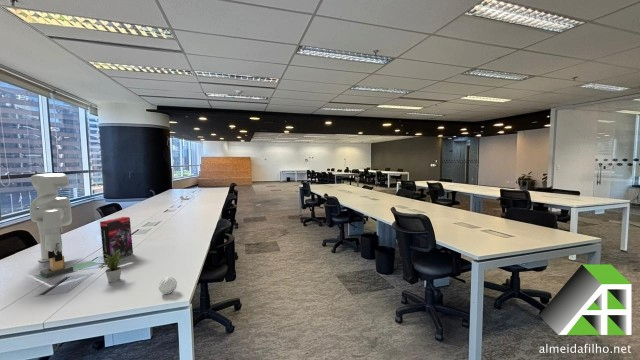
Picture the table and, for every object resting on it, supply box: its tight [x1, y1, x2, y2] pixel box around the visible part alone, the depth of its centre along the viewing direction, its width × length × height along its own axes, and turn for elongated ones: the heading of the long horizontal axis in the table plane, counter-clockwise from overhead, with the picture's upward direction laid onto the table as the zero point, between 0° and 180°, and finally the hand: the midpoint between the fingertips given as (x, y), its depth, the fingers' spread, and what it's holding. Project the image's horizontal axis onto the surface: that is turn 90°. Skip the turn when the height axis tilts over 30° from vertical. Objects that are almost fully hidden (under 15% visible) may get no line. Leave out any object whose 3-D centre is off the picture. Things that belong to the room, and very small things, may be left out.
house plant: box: [97, 250, 126, 283], centre depth 150 cm, size 14×14×16 cm
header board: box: [35, 260, 100, 280], centre depth 164 cm, size 13×26×4 cm, turn 151°
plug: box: [49, 255, 66, 271], centre depth 159 cm, size 4×6×9 cm, turn 152°
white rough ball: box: [158, 276, 178, 295], centre depth 132 cm, size 8×8×8 cm
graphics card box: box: [99, 216, 134, 261], centre depth 186 cm, size 17×7×27 cm, turn 168°
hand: (55, 259), depth 158 cm, fingers open, 9 cm apart
